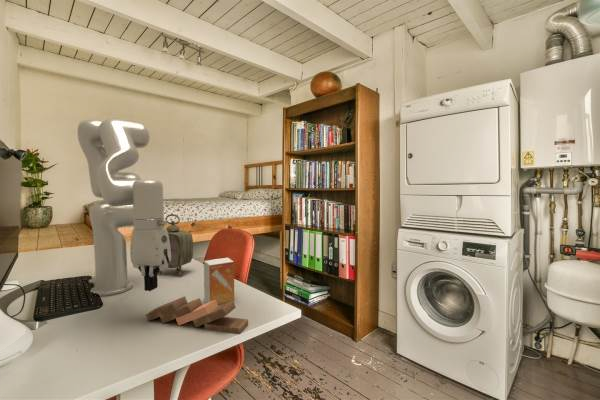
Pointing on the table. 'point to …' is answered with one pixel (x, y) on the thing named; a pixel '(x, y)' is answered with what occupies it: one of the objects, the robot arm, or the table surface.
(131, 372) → the table surface
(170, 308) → the domino
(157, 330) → the table surface
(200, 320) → the domino
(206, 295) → the small box
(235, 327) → the domino
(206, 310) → the domino
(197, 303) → the domino
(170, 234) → the tabletop clock
